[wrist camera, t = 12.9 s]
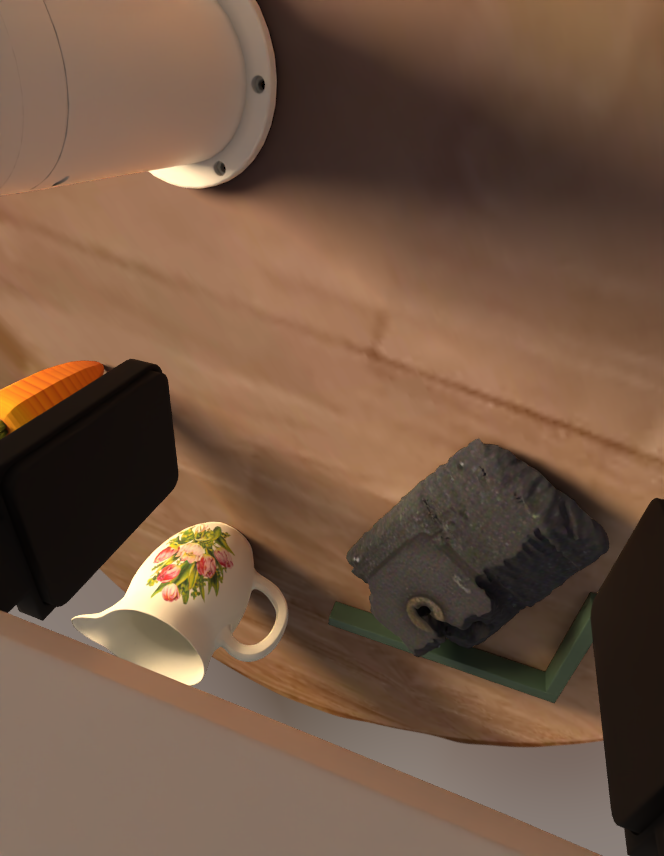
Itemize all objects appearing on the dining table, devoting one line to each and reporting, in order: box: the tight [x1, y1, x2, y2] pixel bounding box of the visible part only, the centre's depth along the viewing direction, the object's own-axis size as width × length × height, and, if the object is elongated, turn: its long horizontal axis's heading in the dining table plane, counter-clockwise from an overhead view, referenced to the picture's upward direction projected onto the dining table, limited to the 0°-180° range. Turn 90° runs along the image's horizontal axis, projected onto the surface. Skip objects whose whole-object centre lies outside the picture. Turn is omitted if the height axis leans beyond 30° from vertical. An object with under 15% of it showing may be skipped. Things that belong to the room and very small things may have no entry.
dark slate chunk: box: [346, 439, 609, 657], centre depth 43 cm, size 15×22×5 cm
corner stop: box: [328, 592, 597, 703], centre depth 48 cm, size 23×13×2 cm, turn 85°
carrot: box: [0, 361, 104, 439], centre depth 41 cm, size 5×5×15 cm
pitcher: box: [72, 522, 288, 686], centre depth 50 cm, size 11×18×14 cm, turn 83°
